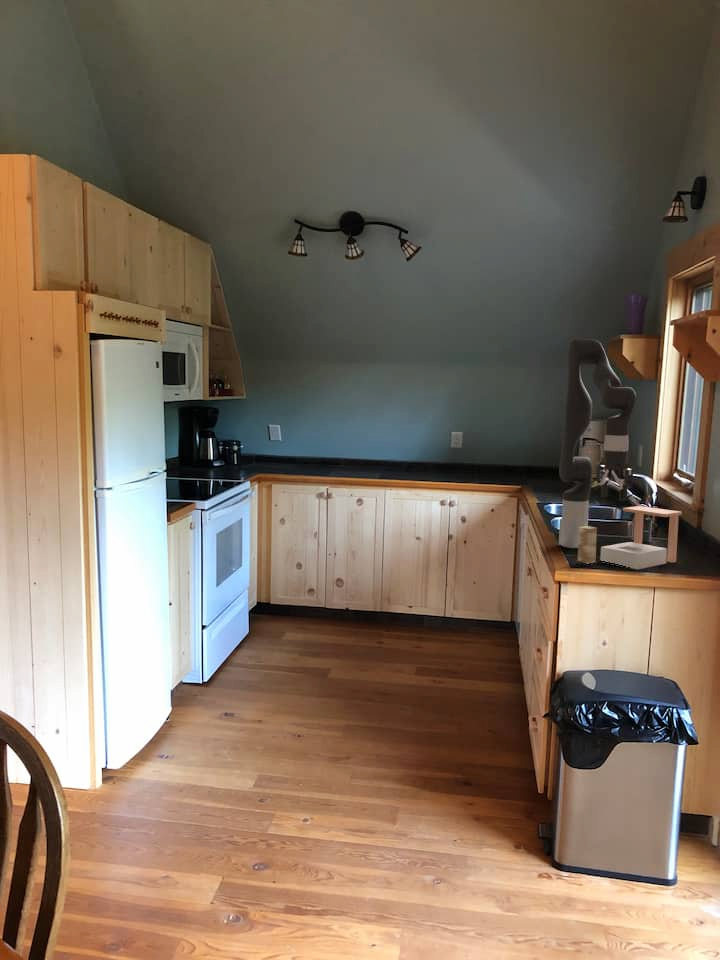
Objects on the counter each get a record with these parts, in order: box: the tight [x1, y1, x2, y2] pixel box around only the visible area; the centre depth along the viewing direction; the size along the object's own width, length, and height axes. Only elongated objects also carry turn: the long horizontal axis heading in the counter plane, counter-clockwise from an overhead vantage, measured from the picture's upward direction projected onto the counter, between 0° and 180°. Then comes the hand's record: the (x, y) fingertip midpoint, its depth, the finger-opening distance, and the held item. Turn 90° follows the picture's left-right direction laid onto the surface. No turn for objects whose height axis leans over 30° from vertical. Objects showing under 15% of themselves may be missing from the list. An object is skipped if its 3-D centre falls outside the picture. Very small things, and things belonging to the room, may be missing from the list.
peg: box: [577, 525, 598, 564], centre depth 243 cm, size 4×4×12 cm
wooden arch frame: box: [622, 505, 683, 563], centre depth 249 cm, size 16×10×17 cm, turn 35°
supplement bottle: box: [631, 514, 653, 543], centre depth 282 cm, size 7×7×12 cm
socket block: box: [599, 541, 668, 570], centre depth 245 cm, size 14×16×5 cm
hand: (613, 498), depth 239 cm, fingers open, 8 cm apart
